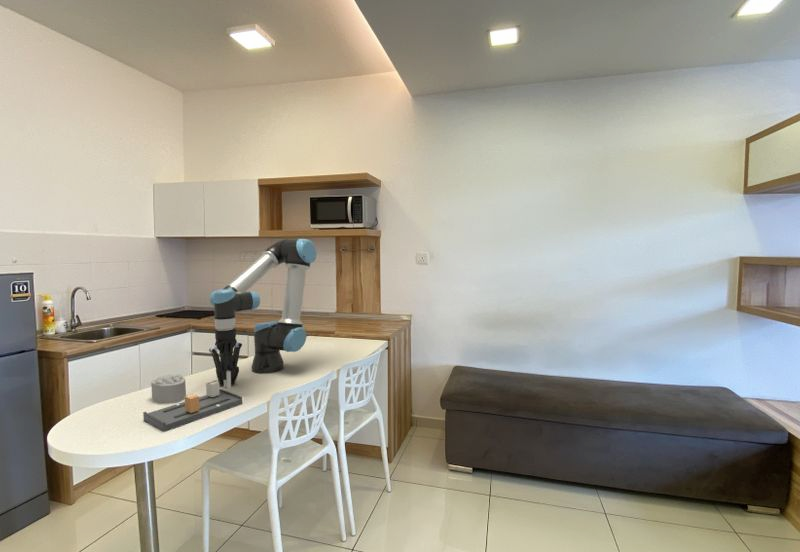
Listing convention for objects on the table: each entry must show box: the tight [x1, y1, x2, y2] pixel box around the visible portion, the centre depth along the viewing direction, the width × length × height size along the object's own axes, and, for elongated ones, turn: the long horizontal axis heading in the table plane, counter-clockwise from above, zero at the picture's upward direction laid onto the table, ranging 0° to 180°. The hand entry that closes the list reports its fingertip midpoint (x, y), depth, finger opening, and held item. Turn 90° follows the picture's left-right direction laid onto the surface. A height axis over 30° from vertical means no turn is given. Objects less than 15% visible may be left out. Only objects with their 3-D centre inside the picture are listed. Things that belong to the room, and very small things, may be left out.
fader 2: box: [205, 380, 220, 397], centre depth 153 cm, size 3×4×5 cm
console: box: [142, 388, 243, 433], centre depth 143 cm, size 28×15×3 cm, turn 145°
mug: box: [215, 365, 240, 387], centre depth 171 cm, size 8×12×10 cm
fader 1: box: [184, 393, 200, 413], centre depth 138 cm, size 3×4×5 cm
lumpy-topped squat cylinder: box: [150, 373, 187, 405], centre depth 156 cm, size 10×13×9 cm
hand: (227, 386), depth 158 cm, fingers closed
